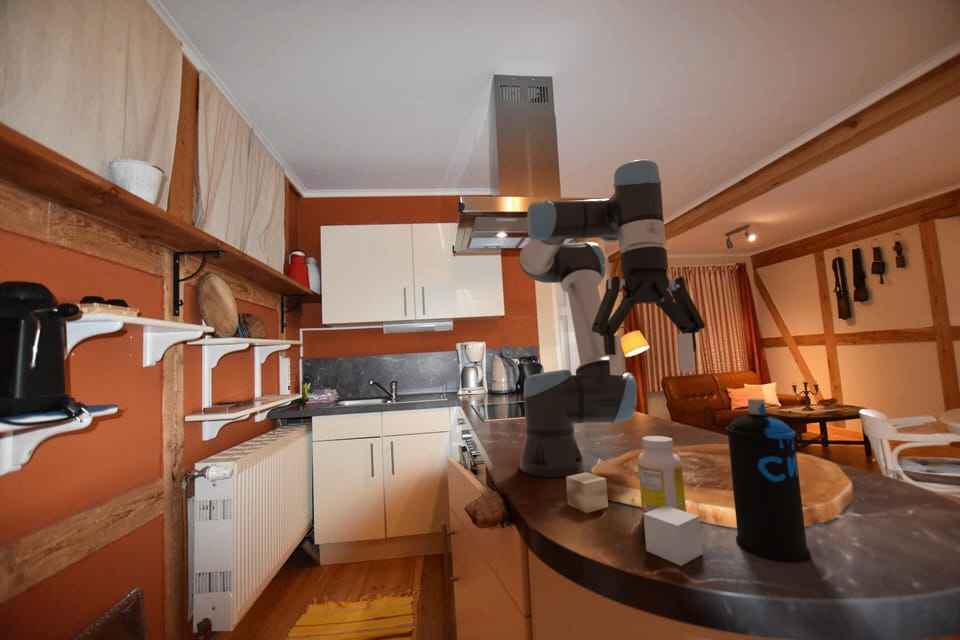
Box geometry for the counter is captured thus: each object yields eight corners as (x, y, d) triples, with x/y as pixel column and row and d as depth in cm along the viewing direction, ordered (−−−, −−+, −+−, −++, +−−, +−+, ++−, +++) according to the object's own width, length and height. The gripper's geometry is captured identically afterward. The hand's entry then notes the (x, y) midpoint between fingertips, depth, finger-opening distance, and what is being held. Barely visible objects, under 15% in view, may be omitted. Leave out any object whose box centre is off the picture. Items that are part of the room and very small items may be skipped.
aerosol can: (722, 540, 57) (709, 399, 59) (761, 529, 60) (747, 395, 62) (783, 568, 49) (765, 404, 51) (825, 554, 52) (807, 399, 54)
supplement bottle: (677, 510, 68) (670, 434, 69) (694, 527, 62) (686, 442, 63) (637, 510, 69) (631, 434, 70) (649, 527, 62) (643, 443, 63)
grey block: (646, 551, 55) (643, 513, 55) (667, 541, 58) (665, 505, 58) (681, 566, 51) (677, 525, 51) (702, 554, 53) (699, 516, 54)
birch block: (567, 504, 73) (566, 476, 74) (588, 499, 75) (586, 472, 76) (586, 513, 69) (584, 483, 69) (608, 507, 71) (606, 478, 71)
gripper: (587, 242, 63) (596, 377, 61) (720, 246, 68) (733, 370, 66) (567, 255, 70) (574, 376, 68) (688, 257, 76) (699, 369, 73)
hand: (653, 373), depth 67 cm, fingers open, 13 cm apart
